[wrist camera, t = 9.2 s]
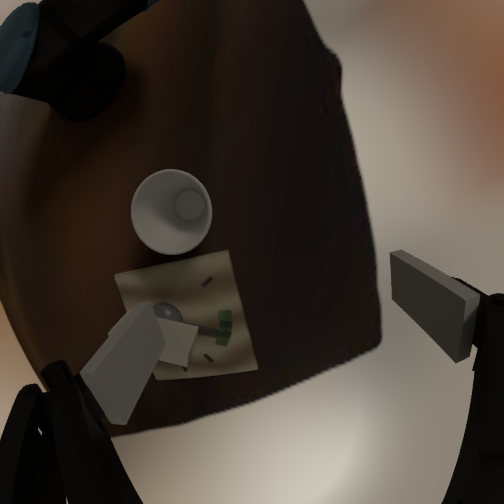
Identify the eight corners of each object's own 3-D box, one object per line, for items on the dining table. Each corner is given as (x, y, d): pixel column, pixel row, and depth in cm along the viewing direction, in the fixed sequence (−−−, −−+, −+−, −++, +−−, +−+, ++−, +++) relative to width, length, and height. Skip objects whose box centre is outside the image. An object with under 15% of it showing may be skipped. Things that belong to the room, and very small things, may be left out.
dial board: (117, 273, 44) (113, 276, 43) (228, 249, 43) (227, 252, 42) (158, 376, 50) (156, 380, 48) (257, 365, 48) (257, 370, 47)
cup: (220, 240, 43) (208, 259, 32) (158, 233, 43) (129, 250, 32) (226, 174, 40) (215, 171, 30) (162, 170, 40) (132, 168, 30)
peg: (133, 325, 46) (109, 355, 36) (133, 294, 44) (107, 321, 34) (217, 345, 46) (209, 381, 36) (223, 314, 45) (214, 348, 35)
